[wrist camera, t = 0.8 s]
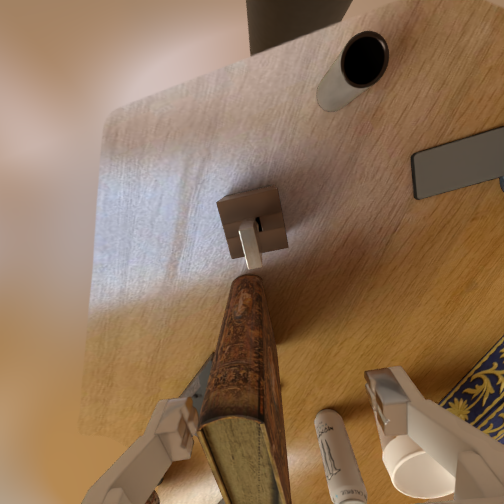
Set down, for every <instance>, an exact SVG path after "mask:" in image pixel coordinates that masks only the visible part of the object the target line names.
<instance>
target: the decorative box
mask: <svg viewBox="0 0 504 504" xmlns="http://www.w3.org/2000/svg"><path fill="white" fill-rule="evenodd" d="M438 405H439V406H441V407H443V408H444V409H446V410H448V411H449V412H451V413H452V414H454V415H456V416H457V417H459V418H461V419H462V420H464V421H465V422H467V423H469V424H470V425H472V426H474V427H475V428H477V429H479V430H480V431H482V432H483V433H485V434H487V435H488V436H490V437H492V438H493V439H495V440H496V441H498V442H500V443H501V444H503V445H504V336H503V337H502V338H501V339H500V340H499V341H498V342H497V343H496V344H495V345H494V346H493V347H492V348H491V349H490V351H489V352H488V353H487V354H486V355H485V356H484V357H483V358H482V359H481V360H480V361H479V362H478V363H477V364H476V365H475V366H474V367H473V368H472V369H471V370H470V371H469V373H468V374H467V375H466V376H465V377H464V378H463V379H462V380H461V381H460V382H459V383H458V384H457V385H456V386H455V387H454V388H453V389H452V390H451V391H450V392H449V393H448V394H447V396H446V397H445V398H444V399H443V400H442V401H441V402H440V403H439V404H438Z"/></svg>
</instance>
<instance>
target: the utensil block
mask: <svg viewBox="0 0 504 504" xmlns="http://www.w3.org/2000/svg"><path fill="white" fill-rule="evenodd" d="M216 203H217V207H218V210H219V214H220V218H221V222H222V225H223V229H224V232H225V236H226V240H227V244H228V247H229V251H230V255H231V258H232V259H235V258H240V257H245V254H244V250H243V246H242V242H241V238H240V234H239V228H240V225H241V223H242V220H243V218H247V217H252V216H255V218H256V217H259V218H260V221H259V237H260V242H261V246H262V253H265V252H269V251H274V250H279V249H284V248H288V242H287V237H286V231H285V226H284V220H283V215H282V209H281V204H280V199H279V193H278V189H277V187H276V186H275V185H272V186H268V187H263V188H259V189H255V190H250V191H246V192H242V193H237V194H233V195H229V196H224V197H223V198H222V199H220V200H219V201H218V202H216Z"/></svg>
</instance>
